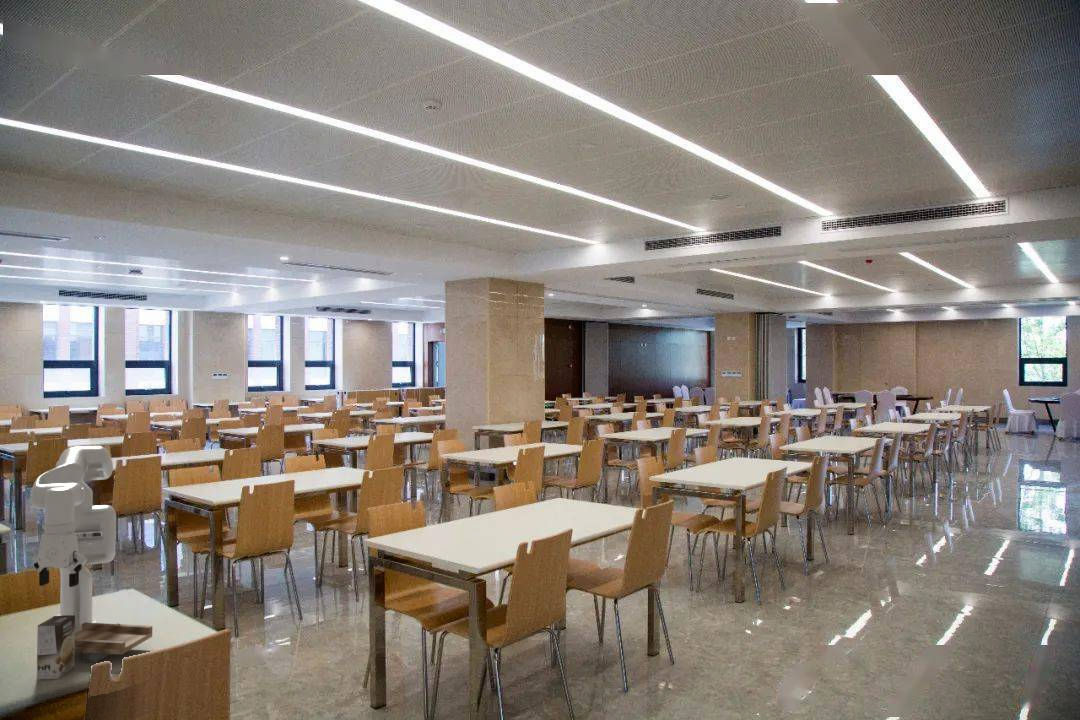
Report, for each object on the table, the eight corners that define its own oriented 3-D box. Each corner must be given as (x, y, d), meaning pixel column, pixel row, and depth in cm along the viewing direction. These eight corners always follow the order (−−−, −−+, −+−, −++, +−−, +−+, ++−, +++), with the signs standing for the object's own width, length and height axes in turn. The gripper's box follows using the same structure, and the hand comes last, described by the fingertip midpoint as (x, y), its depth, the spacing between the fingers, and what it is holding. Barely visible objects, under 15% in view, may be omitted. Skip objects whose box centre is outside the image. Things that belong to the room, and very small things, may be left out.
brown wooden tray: (50, 661, 234) (50, 638, 234) (85, 643, 249) (85, 621, 249) (121, 665, 231) (122, 642, 231) (152, 647, 246) (152, 625, 246)
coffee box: (58, 679, 221) (59, 625, 221) (36, 680, 221) (36, 625, 221) (75, 666, 230) (75, 614, 230) (53, 667, 230) (53, 615, 230)
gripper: (23, 530, 223) (22, 587, 223) (77, 532, 221) (76, 590, 221) (42, 525, 231) (42, 580, 231) (94, 526, 229) (94, 582, 229)
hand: (59, 585), depth 226 cm, fingers open, 9 cm apart
